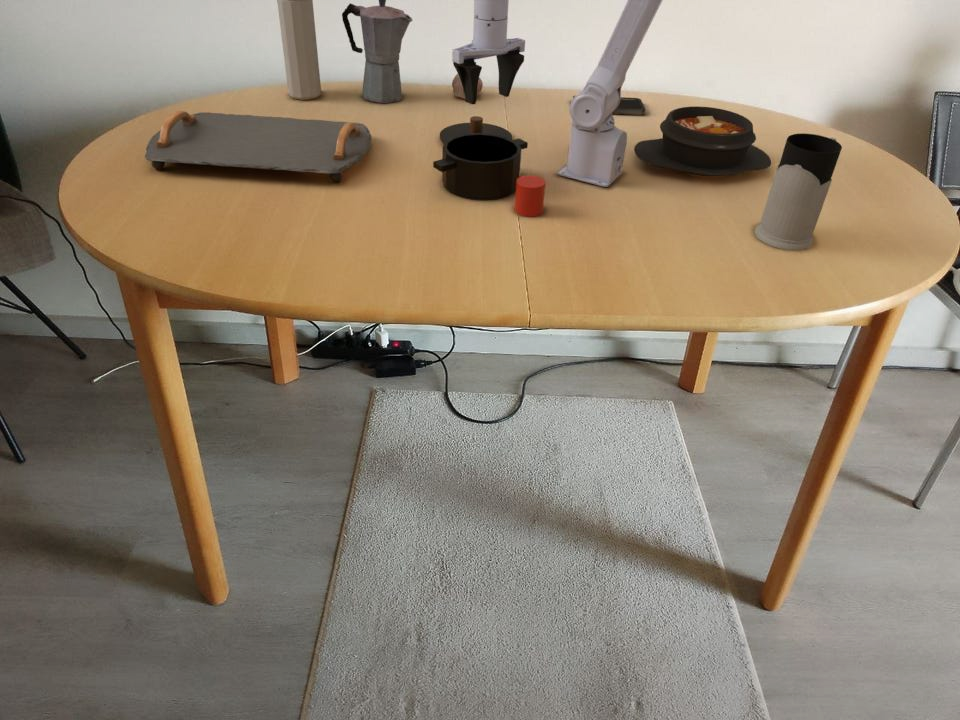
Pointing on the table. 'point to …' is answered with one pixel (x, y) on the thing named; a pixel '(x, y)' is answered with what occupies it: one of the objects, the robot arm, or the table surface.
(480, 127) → the cooker lid
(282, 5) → the water bottle
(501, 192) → the cooker
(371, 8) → the moka pot
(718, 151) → the casserole
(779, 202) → the glass holder
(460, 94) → the garlic bulb
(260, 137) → the serving tray
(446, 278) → the table surface
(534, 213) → the tin
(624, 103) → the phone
